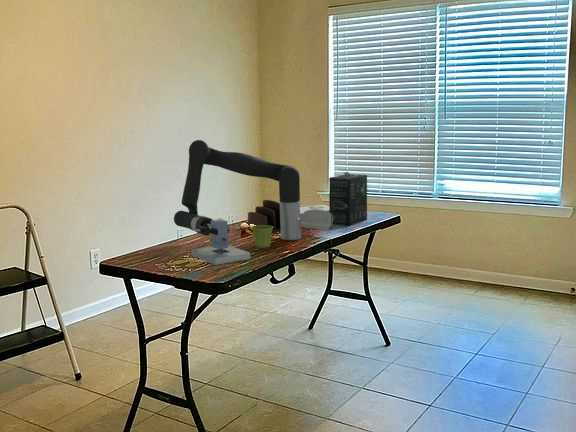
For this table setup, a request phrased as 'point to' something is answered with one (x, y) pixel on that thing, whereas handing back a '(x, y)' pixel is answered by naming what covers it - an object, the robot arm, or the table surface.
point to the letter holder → (266, 215)
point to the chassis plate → (220, 255)
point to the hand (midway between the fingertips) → (222, 231)
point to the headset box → (348, 198)
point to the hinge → (317, 219)
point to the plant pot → (262, 235)
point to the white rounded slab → (320, 207)
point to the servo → (220, 234)
